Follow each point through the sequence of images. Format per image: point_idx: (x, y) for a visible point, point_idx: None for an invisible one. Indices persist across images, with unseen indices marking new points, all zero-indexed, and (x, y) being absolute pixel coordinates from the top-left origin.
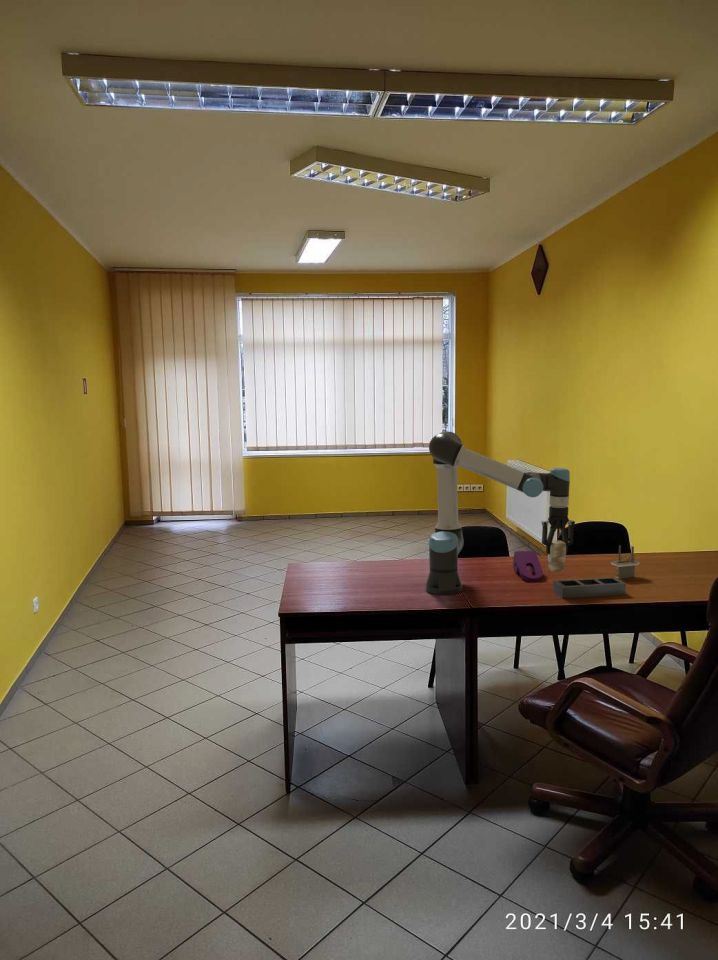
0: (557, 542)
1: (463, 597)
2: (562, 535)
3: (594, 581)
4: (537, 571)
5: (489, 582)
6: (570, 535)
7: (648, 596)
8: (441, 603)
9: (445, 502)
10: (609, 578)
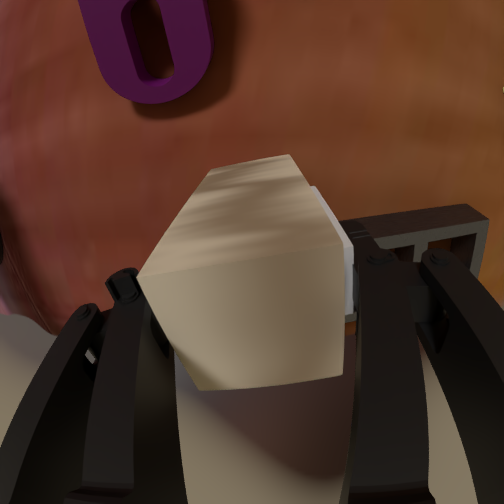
0: (250, 355)
1: (19, 282)
2: (356, 401)
3: (411, 251)
4: (181, 50)
5: (30, 143)
6: (451, 404)
7: (487, 282)
8: (10, 311)
9: None
10: (469, 233)
